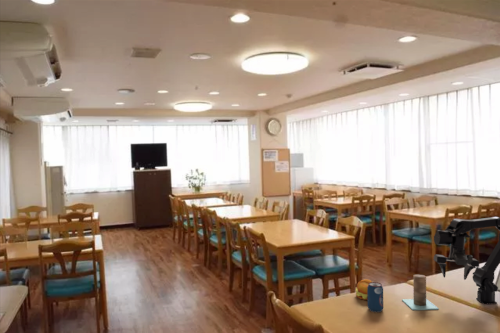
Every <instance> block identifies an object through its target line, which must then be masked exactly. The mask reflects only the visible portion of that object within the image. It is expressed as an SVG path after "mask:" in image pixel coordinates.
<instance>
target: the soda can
mask: <svg viewBox="0 0 500 333" xmlns="http://www.w3.org/2000/svg"><path fill="white" fill-rule="evenodd" d="M382 285H383V283H380V282H377V281H372V282H370V283H369V285H368V287H367V296H368V300H367V308H368V310H369V312H372V313H381V312H382V311H383V310H384V287H383V286H382Z"/></svg>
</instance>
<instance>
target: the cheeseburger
mask: <svg viewBox="0 0 500 333" xmlns="http://www.w3.org/2000/svg"><path fill="white" fill-rule="evenodd" d="M370 282H373V281H372V280H370V279H367V278H365V279H362V280H359V281H358V283H357V284H356V288H355V297H357V299H360V300H364V301H368V296H367V287H368V285H369V283H370Z"/></svg>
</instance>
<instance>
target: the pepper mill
mask: <svg viewBox="0 0 500 333" xmlns="http://www.w3.org/2000/svg"><path fill="white" fill-rule="evenodd" d="M412 280H413V281H412V282H413V299H414V304H415V305H418V306H425V305H426V299H427V276H426V275H424V274H413V279H412Z"/></svg>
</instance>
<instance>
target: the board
mask: <svg viewBox="0 0 500 333" xmlns="http://www.w3.org/2000/svg"><path fill="white" fill-rule="evenodd" d="M401 301H402V302H403V303H404V304H405V305H406V307H408V308H409V309H411V311H436V310H439V307H438V306H437V305H435V304H434V303H433V302H431V301H430V300H429V299H427V298H426V305H425V306H418V305H415V304H414V298H402V299H401Z"/></svg>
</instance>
